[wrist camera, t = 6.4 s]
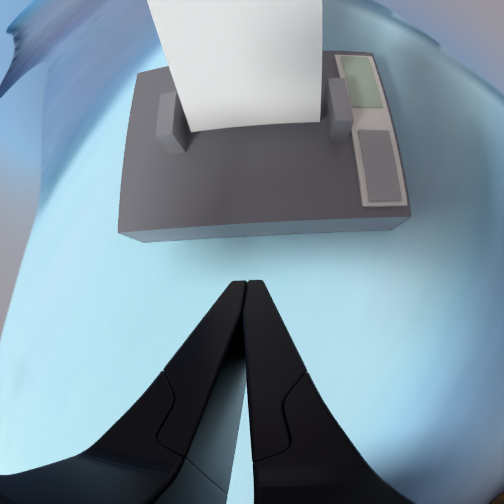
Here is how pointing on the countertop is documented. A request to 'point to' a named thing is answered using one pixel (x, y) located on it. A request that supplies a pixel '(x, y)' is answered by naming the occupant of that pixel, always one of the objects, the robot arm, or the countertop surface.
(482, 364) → the countertop surface
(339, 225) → the switch unit
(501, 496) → the wooden container
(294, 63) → the lever
